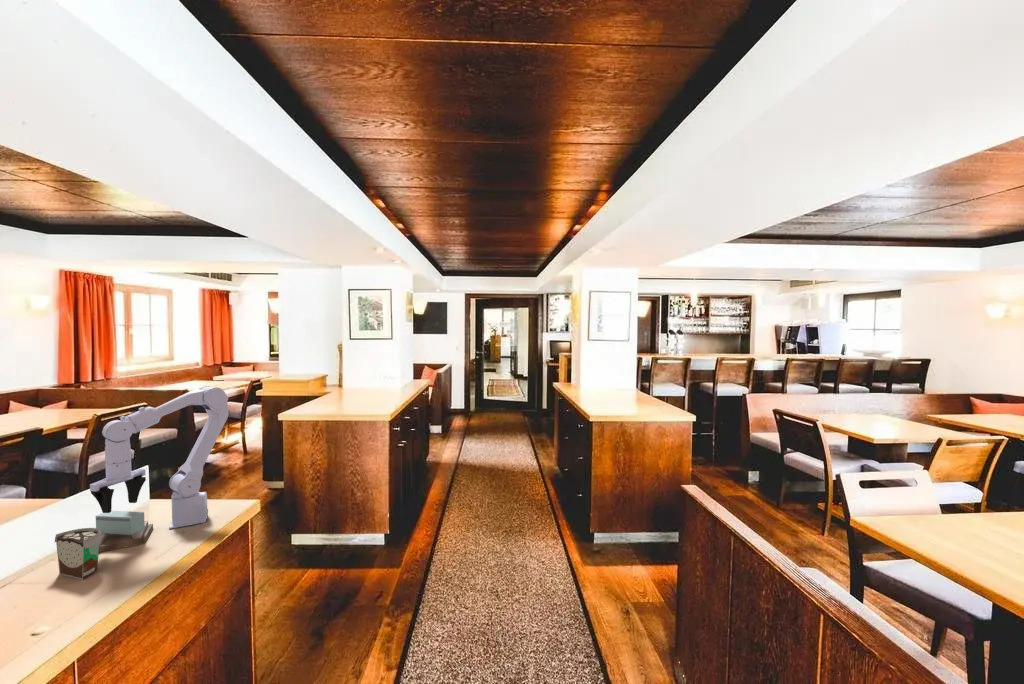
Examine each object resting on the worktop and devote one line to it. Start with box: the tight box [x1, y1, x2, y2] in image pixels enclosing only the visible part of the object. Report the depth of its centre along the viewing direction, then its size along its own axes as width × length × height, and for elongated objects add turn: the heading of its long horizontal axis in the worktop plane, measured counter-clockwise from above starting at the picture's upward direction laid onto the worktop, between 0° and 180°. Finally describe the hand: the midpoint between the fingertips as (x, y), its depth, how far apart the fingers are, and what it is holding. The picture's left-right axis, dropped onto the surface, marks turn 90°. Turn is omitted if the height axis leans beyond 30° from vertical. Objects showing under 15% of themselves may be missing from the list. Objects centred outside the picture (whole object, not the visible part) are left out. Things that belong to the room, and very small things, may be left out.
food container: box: [54, 527, 103, 580], centre depth 116 cm, size 12×6×10 cm, turn 71°
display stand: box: [99, 520, 154, 553], centre depth 133 cm, size 13×12×3 cm
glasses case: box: [95, 510, 145, 535], centre depth 133 cm, size 12×4×5 cm, turn 81°
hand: (120, 507), depth 133 cm, fingers open, 7 cm apart
